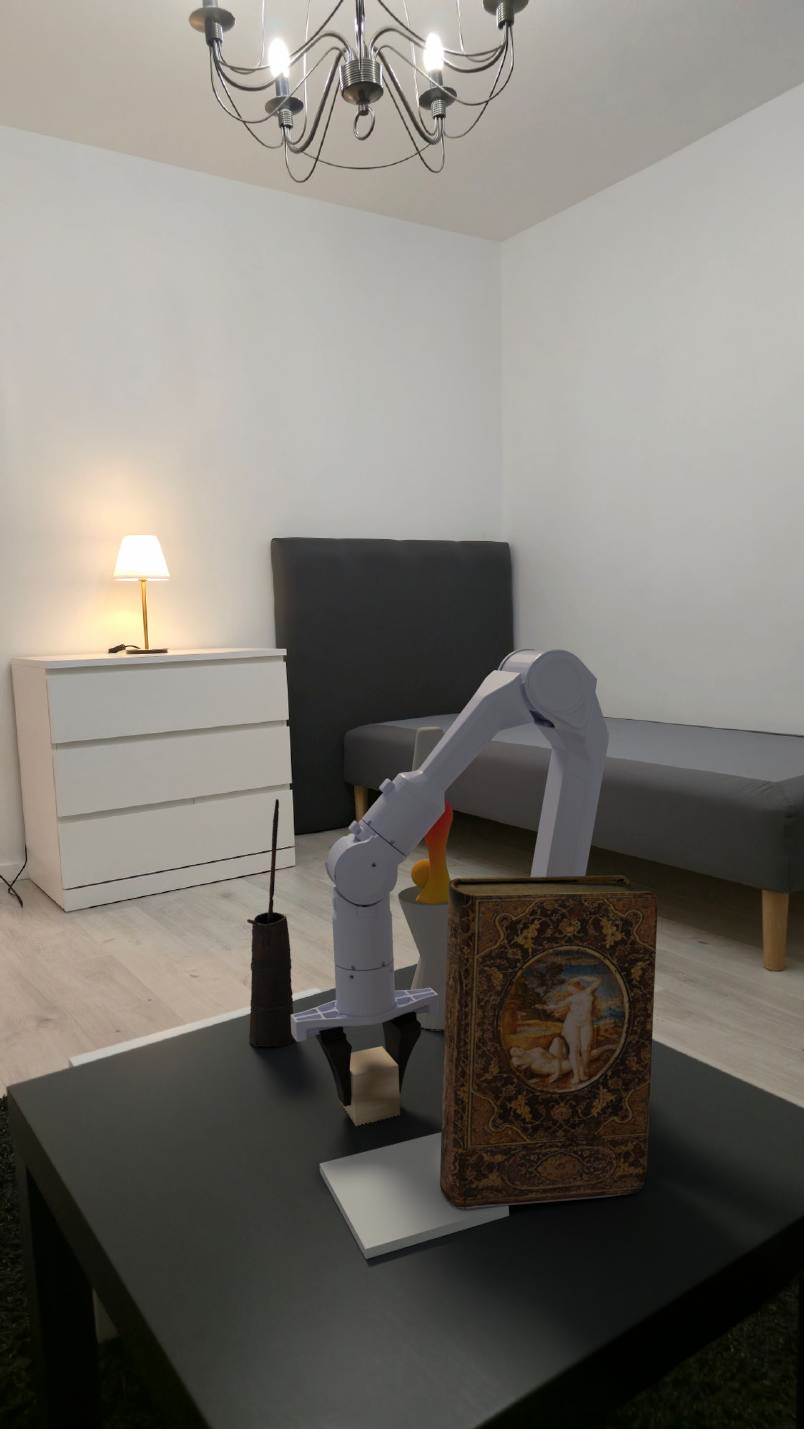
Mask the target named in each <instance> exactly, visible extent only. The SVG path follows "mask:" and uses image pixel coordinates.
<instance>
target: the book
mask: <svg viewBox="0 0 804 1429" xmlns="http://www.w3.org/2000/svg"><path fill="white" fill-rule="evenodd" d="M657 929H658V899H657V895H655V894H654V893H653V892H651V891H649V890H643V891H642V890H641V891H640V890H639V891H638V890H636V889H632V888H631V882H630V879H628V877H626V876H624V875H623V874H621V875H620V874H619V875H618V874H617V875H616V874H615V875H585V876H553V877H530V876H513V877H512V876H508V877H507V876H505V877H500V876H499V877H498V876H496V877H495V876H494V877H457V878H453V879H451V881H450V882H449V897H448V930H447V963H446V996H445V1029H444V1030H443V1032H444V1036H443V1039H444V1040H443V1064H442V1065H443V1066H442V1067H443V1069H442V1070H443V1072H442V1095H441V1097H442V1098H441V1099H442V1100H441V1101H442V1102H441V1128H440V1130H441V1131H440V1132H441V1162H440V1188H441V1191H442V1193H443V1195H444V1196H445V1198H446V1199H447V1200H448V1201H449V1202H450V1203H452V1204H453V1205H455V1206H457V1207H459V1208H462V1209H468V1208H480V1207H492V1206H505V1205H508V1206H514V1205H527V1204H537V1203H539V1204H541V1203H549V1202H551V1203H552V1202H553V1203H554V1202H565V1201H575V1200H576V1201H577V1200H578V1201H579V1200H589V1199H599V1198H600V1199H601V1198H608V1197H616V1196H624V1195H632V1194H637V1193H639V1192H640V1191H641V1190H642V1189H643V1188H644V1185H645V1183H646V1178H647V1177H646V1175H647V1170H648V1149H649V1131H650V1130H649V1128H650V1127H649V1126H650V1124H649V1123H650V1102H651V1101H650V1100H651V1099H650V1098H651V1079H652V1078H651V1077H652V1054H653V1053H652V1051H653V1033H654V1031H653V1028H654V1004H655V982H656V981H655V980H656V959H657V958H656V956H657V932H658V930H657Z"/></svg>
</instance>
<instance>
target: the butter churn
mask: <svg viewBox="0 0 804 1429" xmlns="http://www.w3.org/2000/svg"><path fill="white" fill-rule="evenodd" d="M279 800H280V799H278V798H275V802H274V803H275V804H274V810H273V811H274V812H273V818H272V830H271V831H272V832H271V833H272V834H271V836H272V837H271V860H270V864H271V865H270V874H269V875H270V876H269V898H268V900H269V901H268V908H267V909H268V911H267V912H263V913H259V914H258V915H256V916H255V917H254V919H250V918H248V919H247V920H246V922H247V923H249V924H251V927H252V928H251V936H252V937H251V939H252V940H251V960H250V961H251V963H250V971H251V982H250V983H251V987H250V988H251V990H250V992H251V993H250V994H251V995H250V1004H249V1005H250V1009H249V1010H250V1014H249V1015H250V1016H249V1033H248V1034H249V1036H248V1041H249V1043H250V1044H251V1045H252V1046H254V1047H265V1048H267V1047H268V1048H269V1047H271V1048H272V1047H273V1048H279V1047H283V1046H286V1045H289V1044H291V1043H292V1042H293V1041H294V1040H295V1038H294V1037H293V1035H292V1033H291V1014H294V1006H293V1005H294V1004H293V1003H294V999H293V988H292V978H291V977H292V968H293V967H292V958H291V957H292V956H291V944H290V933H289V924H288V920H287V916H285V915H284V914H283V913H280V912H277V911H274V899H273V898H274V894H275V884H276V883H275V882H276V864H277V863H276V862H277V848H278V847H277V845H278V830H279V829H278V828H279V809H280V801H279Z"/></svg>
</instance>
